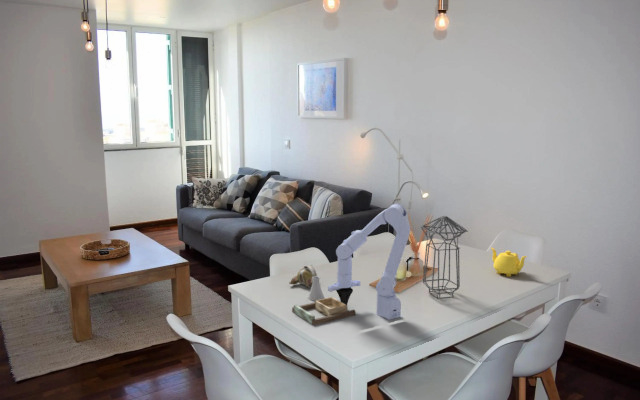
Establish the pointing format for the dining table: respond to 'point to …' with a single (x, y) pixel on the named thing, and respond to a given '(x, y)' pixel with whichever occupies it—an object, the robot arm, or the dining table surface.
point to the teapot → (507, 263)
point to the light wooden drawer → (330, 306)
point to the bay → (311, 318)
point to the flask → (315, 290)
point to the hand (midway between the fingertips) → (344, 305)
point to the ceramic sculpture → (304, 276)
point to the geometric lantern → (445, 252)
